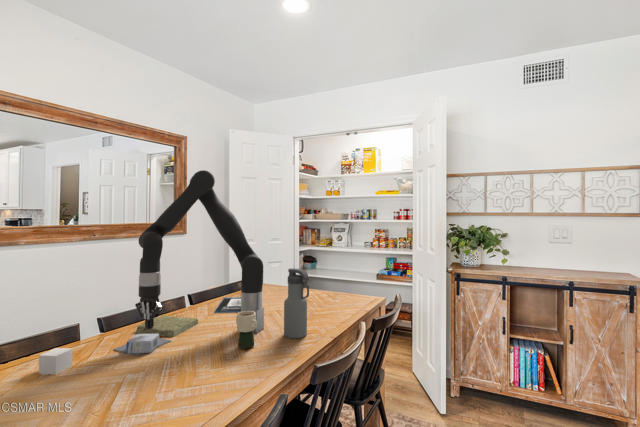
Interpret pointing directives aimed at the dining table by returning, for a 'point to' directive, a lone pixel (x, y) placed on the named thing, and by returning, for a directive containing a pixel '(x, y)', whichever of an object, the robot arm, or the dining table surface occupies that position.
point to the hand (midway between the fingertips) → (149, 328)
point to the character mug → (246, 328)
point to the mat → (123, 349)
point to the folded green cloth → (168, 326)
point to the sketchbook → (229, 305)
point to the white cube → (55, 361)
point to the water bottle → (296, 305)
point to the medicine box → (142, 343)
